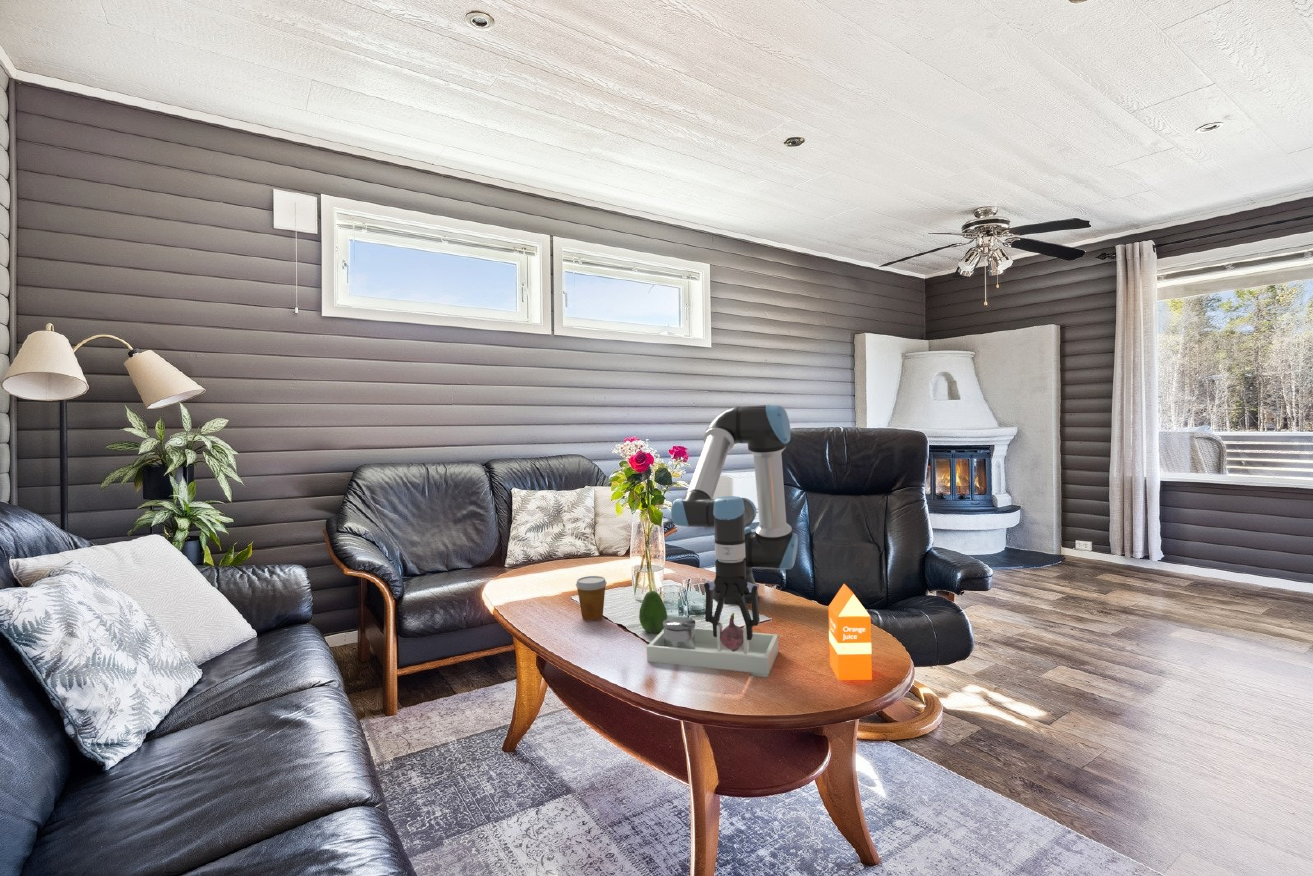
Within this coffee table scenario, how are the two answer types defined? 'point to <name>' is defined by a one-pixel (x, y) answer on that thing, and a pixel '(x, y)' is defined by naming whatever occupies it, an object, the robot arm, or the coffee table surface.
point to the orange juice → (849, 637)
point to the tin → (679, 632)
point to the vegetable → (732, 636)
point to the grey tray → (719, 653)
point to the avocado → (652, 613)
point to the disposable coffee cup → (591, 597)
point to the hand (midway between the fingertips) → (733, 650)
